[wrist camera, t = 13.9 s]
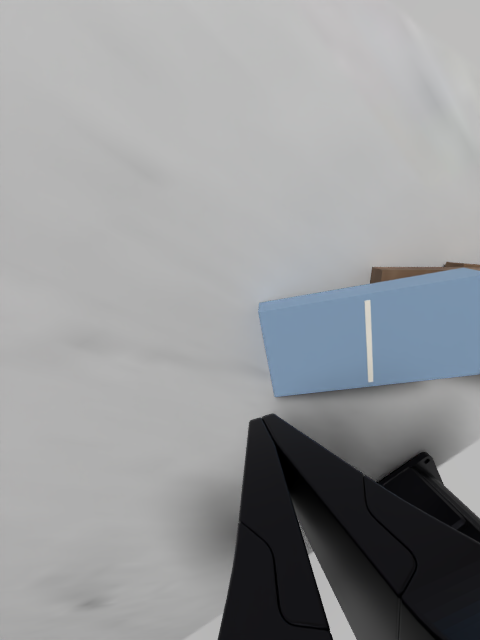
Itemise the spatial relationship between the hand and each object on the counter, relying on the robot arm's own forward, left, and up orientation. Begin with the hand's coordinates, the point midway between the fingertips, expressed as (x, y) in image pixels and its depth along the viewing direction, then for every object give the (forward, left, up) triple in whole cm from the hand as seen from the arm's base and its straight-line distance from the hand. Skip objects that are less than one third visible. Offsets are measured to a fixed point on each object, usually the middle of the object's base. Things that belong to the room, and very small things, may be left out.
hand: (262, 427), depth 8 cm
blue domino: (-1, -2, -5) cm, 6 cm away
